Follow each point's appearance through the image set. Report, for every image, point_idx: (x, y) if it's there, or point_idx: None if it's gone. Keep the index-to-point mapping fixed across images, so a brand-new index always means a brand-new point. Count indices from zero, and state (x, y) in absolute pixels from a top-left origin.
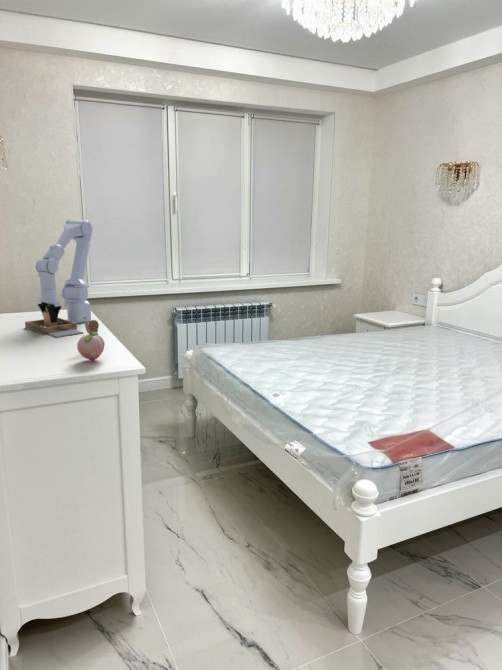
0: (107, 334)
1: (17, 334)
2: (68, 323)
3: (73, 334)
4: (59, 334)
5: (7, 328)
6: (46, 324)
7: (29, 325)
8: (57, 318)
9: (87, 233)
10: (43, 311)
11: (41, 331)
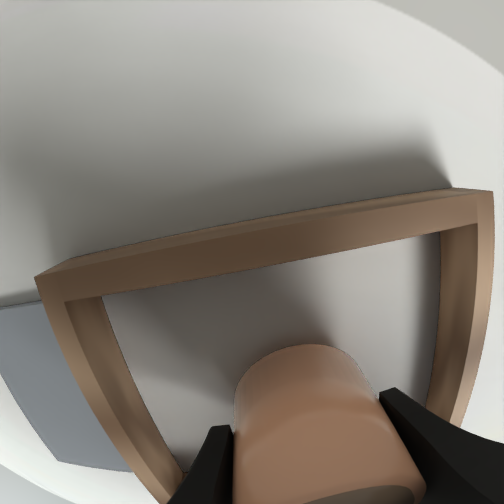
0: (40, 486)
1: (197, 38)
2: None
3: (27, 414)
4: (12, 352)
5: (474, 64)
6: (264, 375)
7: (397, 201)
8: None
9: None
10: (403, 477)
11: (84, 258)
